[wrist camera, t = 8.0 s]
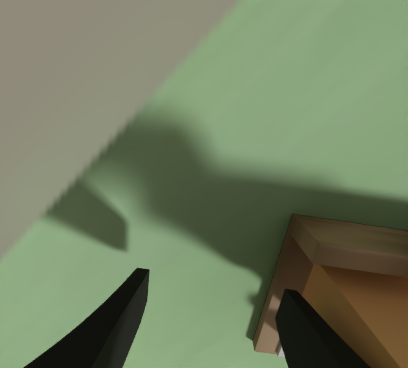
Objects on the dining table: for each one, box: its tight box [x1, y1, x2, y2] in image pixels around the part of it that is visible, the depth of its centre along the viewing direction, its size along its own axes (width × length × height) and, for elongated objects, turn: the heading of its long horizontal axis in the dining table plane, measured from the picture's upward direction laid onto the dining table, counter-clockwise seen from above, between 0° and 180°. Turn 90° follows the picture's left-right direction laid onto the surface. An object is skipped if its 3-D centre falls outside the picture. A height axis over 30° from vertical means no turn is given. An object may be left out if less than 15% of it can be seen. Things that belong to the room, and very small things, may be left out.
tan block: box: [302, 264, 408, 368], centre depth 9 cm, size 6×4×6 cm
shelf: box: [253, 214, 408, 357], centre depth 11 cm, size 12×10×3 cm
